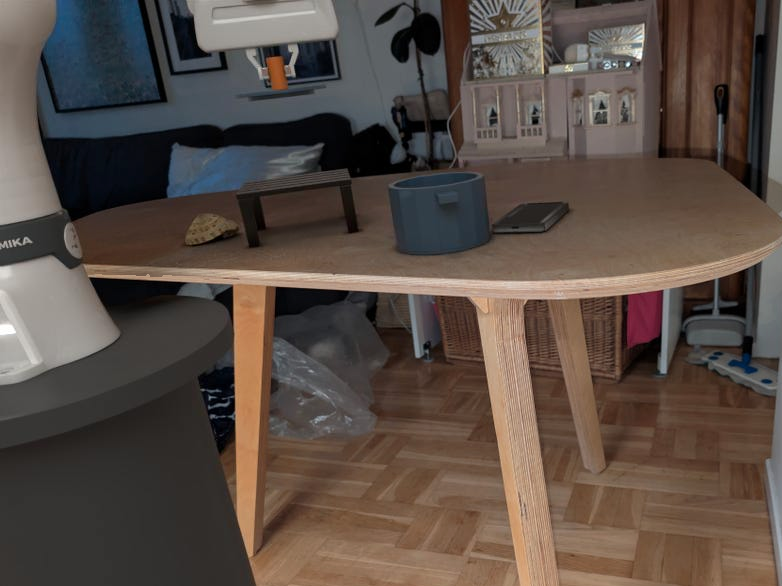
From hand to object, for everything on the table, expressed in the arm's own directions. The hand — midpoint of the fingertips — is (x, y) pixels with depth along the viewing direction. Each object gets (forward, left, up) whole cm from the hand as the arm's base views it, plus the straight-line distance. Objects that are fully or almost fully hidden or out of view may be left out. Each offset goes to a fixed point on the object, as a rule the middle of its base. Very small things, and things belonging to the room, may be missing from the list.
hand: (278, 79), depth 105 cm
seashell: (-16, +5, -23) cm, 28 cm away
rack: (-1, +1, -23) cm, 23 cm away
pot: (+18, -23, -23) cm, 38 cm away
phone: (+32, -18, -23) cm, 44 cm away
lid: (0, 0, -2) cm, 2 cm away
